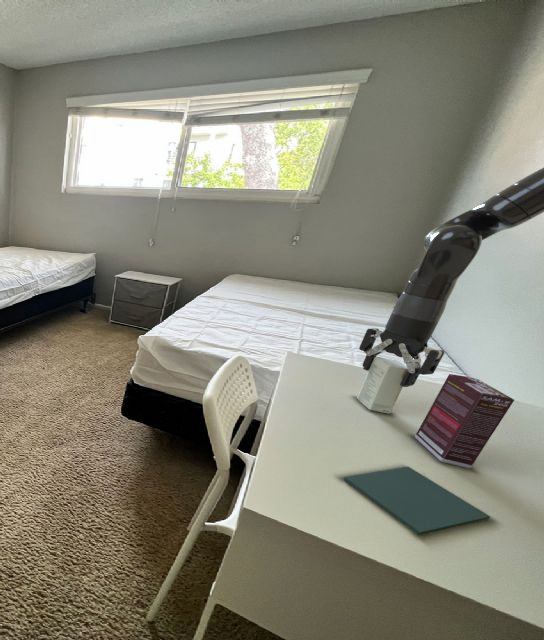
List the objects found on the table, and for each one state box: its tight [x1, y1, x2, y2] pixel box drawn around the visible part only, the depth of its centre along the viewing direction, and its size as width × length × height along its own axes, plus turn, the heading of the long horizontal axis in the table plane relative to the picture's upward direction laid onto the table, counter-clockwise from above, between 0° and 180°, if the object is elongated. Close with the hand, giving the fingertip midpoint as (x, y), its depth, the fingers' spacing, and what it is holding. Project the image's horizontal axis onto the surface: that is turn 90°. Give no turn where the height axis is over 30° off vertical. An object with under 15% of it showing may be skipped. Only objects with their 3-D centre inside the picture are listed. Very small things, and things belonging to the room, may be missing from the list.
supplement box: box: [414, 373, 515, 469], centre depth 69 cm, size 9×5×16 cm, turn 160°
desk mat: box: [343, 466, 491, 536], centre depth 59 cm, size 16×11×1 cm
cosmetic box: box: [356, 356, 409, 415], centre depth 85 cm, size 6×4×12 cm
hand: (385, 377), depth 85 cm, fingers closed on cosmetic box, 7 cm apart
